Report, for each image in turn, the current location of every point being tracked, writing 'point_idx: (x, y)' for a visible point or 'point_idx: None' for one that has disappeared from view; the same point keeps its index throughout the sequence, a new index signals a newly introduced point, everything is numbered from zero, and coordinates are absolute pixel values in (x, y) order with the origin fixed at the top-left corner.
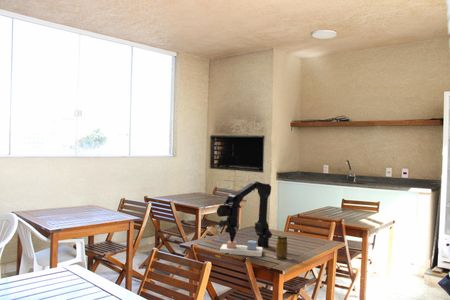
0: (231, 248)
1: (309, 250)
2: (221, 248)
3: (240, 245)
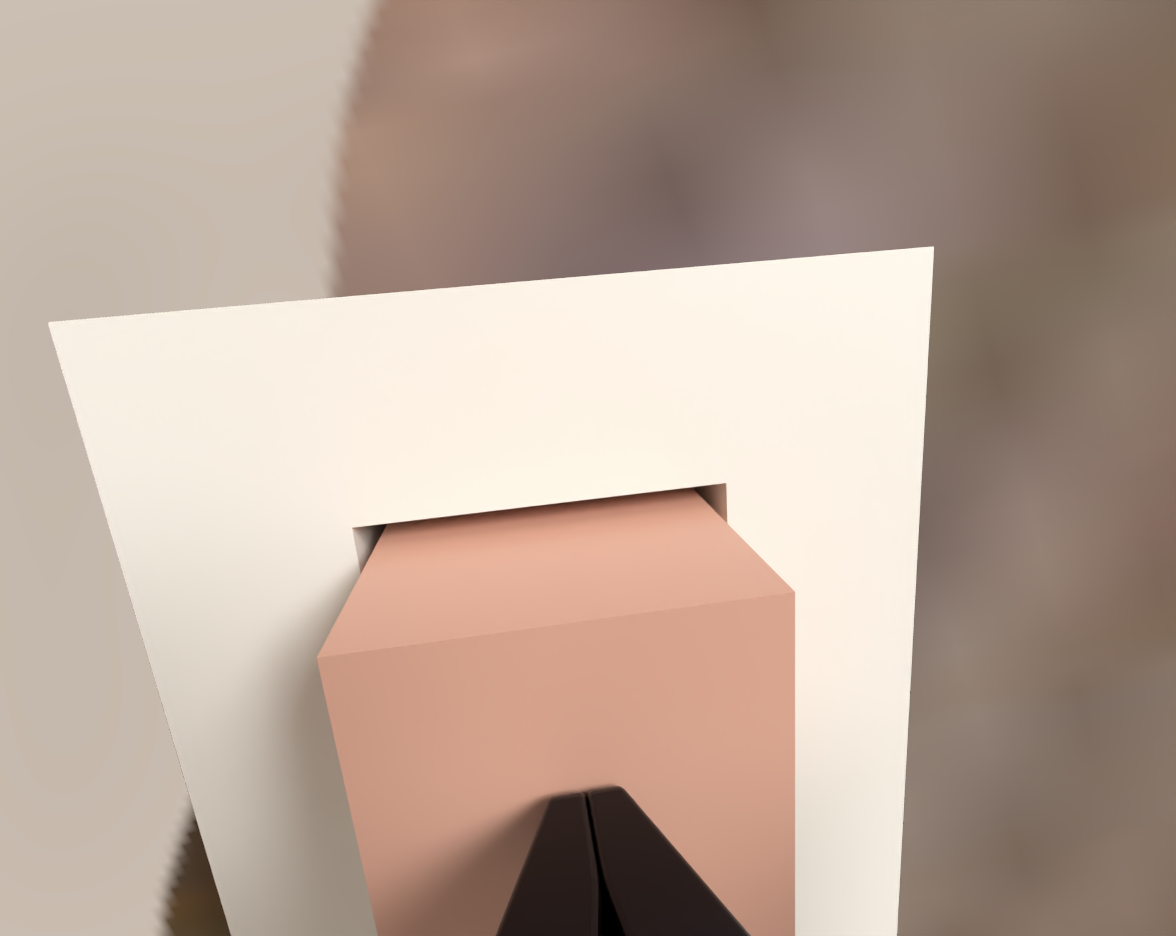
0: None
1: None
2: (130, 377)
3: (887, 845)
